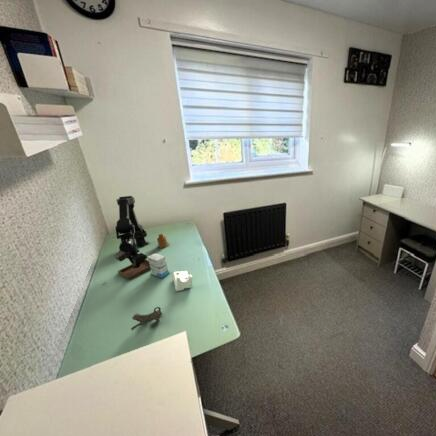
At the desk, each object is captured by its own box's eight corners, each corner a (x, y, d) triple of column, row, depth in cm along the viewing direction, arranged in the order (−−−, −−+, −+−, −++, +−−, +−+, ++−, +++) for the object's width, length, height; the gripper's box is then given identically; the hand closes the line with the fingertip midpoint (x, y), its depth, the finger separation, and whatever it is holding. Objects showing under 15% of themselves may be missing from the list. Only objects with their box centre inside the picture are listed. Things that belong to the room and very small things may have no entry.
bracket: (190, 289, 127) (192, 277, 125) (176, 290, 123) (177, 278, 121) (186, 276, 137) (187, 264, 135) (172, 277, 133) (174, 265, 131)
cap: (130, 267, 138) (129, 264, 137) (136, 264, 141) (135, 260, 140) (136, 269, 137) (135, 265, 136) (141, 265, 140) (141, 262, 139)
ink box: (169, 273, 138) (165, 256, 133) (161, 278, 133) (157, 260, 129) (159, 269, 141) (154, 252, 136) (151, 274, 137) (146, 257, 132)
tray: (118, 273, 137) (117, 270, 136) (144, 261, 149) (144, 258, 148) (129, 280, 131) (128, 277, 131) (155, 266, 143) (154, 263, 143)
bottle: (157, 246, 165) (154, 234, 161) (164, 243, 169) (162, 231, 166) (162, 248, 162) (159, 237, 159) (169, 245, 167) (166, 233, 163)
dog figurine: (163, 314, 109) (160, 302, 106) (163, 323, 105) (159, 311, 102) (133, 322, 105) (129, 310, 102) (131, 332, 100) (127, 319, 97)
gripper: (105, 245, 131) (113, 268, 137) (122, 254, 122) (130, 279, 128) (126, 237, 139) (133, 259, 146) (144, 245, 131) (150, 268, 137)
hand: (136, 266), depth 139 cm, fingers closed on cap, 4 cm apart
